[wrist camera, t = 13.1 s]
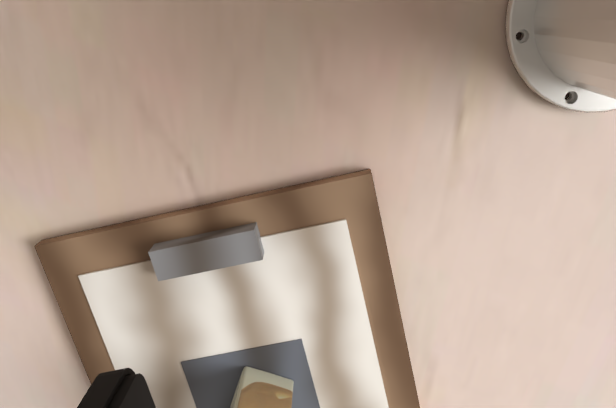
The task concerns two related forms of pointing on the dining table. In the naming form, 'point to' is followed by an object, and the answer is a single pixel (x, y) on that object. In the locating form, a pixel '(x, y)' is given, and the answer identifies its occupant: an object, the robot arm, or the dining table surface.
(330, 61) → the dining table surface
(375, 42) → the dining table surface
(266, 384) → the skincare box
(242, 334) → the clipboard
